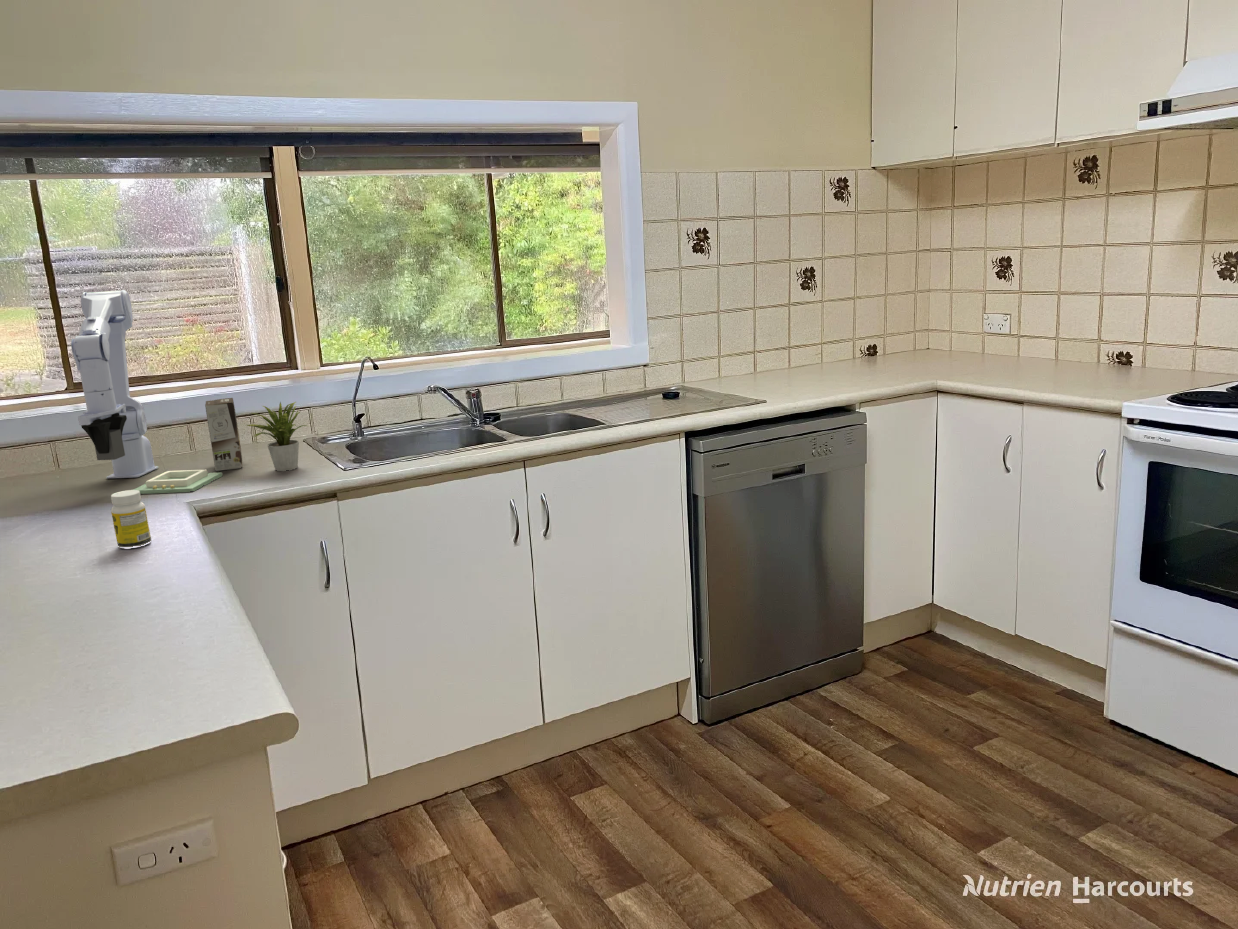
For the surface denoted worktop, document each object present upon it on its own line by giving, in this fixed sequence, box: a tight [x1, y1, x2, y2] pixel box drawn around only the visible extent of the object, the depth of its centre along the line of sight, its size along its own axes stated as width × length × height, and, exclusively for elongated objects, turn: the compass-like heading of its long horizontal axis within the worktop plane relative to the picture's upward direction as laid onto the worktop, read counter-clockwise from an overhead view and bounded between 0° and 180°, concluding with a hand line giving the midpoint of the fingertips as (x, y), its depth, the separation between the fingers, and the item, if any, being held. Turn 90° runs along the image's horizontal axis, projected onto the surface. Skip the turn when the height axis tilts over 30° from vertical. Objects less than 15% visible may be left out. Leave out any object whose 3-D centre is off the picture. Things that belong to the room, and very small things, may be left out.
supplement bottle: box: [110, 489, 152, 548], centre depth 169 cm, size 6×6×10 cm
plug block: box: [94, 429, 125, 461], centre depth 208 cm, size 4×4×6 cm
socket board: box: [133, 468, 223, 495], centre depth 214 cm, size 14×14×2 cm
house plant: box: [246, 401, 308, 472], centre depth 223 cm, size 14×14×16 cm
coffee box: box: [204, 397, 243, 472], centre depth 228 cm, size 9×6×16 cm
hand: (109, 450), depth 208 cm, fingers closed on plug block, 4 cm apart
